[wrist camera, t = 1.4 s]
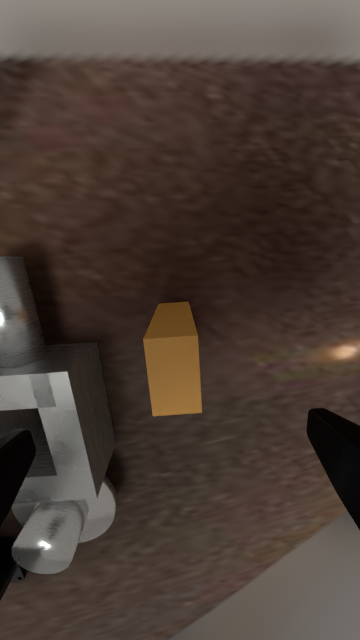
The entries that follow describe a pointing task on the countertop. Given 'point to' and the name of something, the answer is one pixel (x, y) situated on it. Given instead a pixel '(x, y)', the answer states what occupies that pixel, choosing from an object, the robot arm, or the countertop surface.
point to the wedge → (173, 360)
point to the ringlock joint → (53, 430)
